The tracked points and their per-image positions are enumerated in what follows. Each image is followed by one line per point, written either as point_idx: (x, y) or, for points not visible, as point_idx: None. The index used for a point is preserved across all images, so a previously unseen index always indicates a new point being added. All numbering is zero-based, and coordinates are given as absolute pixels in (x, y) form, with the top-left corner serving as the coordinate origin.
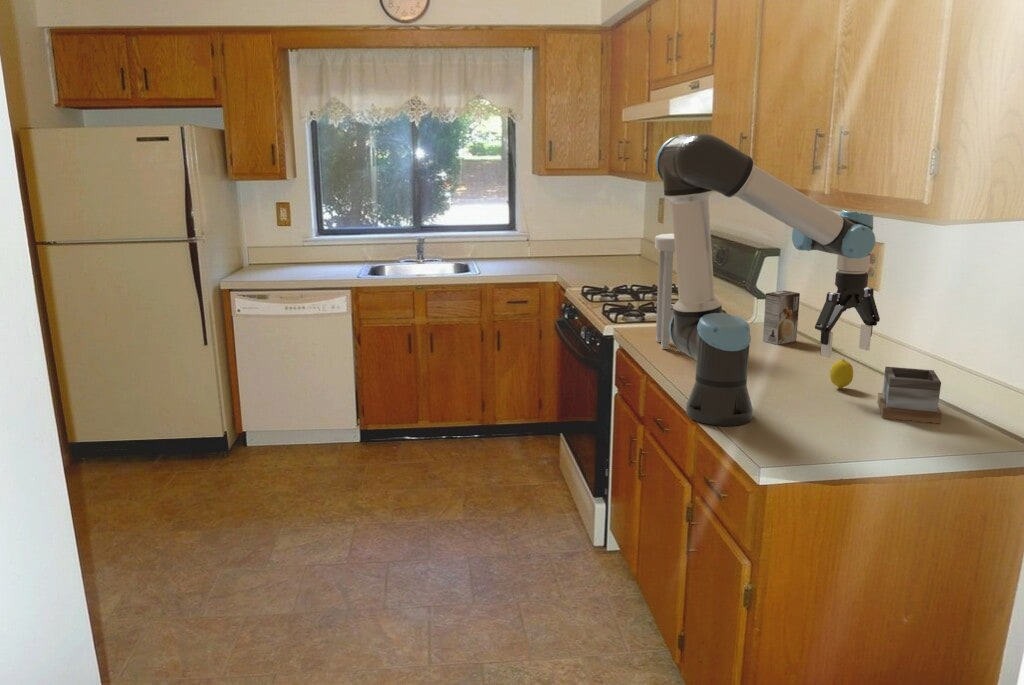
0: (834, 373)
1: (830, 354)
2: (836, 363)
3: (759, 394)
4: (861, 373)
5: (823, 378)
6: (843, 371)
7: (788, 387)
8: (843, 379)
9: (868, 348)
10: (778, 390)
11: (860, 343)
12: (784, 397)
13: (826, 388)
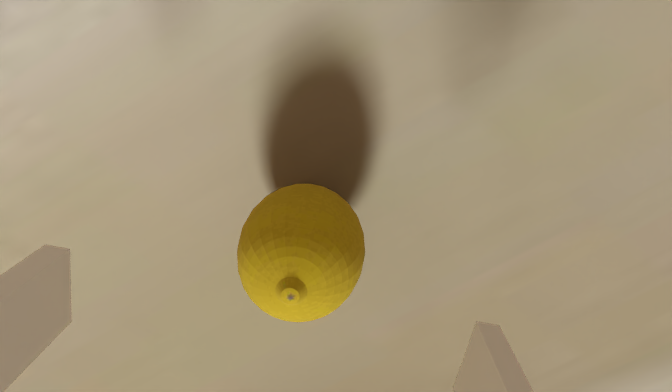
0: (362, 263)
1: (491, 339)
2: (333, 301)
3: (665, 375)
4: None
5: (232, 336)
6: (346, 229)
7: None
8: (348, 205)
9: (47, 255)
10: (551, 359)
11: (43, 340)
12: (633, 295)
13: None
